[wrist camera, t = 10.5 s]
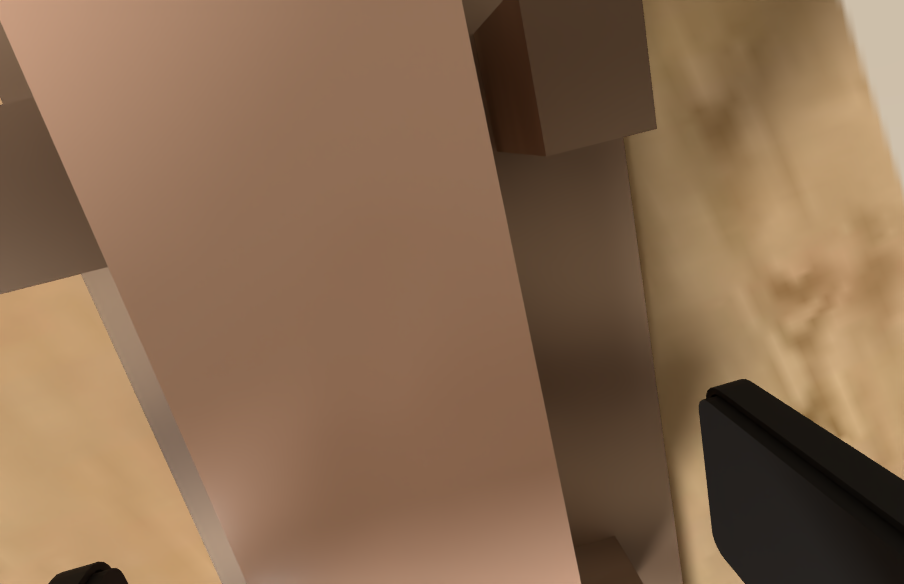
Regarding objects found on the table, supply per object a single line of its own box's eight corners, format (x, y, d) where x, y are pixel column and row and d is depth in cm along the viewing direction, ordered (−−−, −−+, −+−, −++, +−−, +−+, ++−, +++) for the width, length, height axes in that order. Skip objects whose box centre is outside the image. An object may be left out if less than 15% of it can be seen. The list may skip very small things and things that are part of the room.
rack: (679, 655, 18) (820, 897, 12) (325, 767, 17) (299, 1080, 11) (554, -213, 11) (748, -600, 5) (-50, -86, 10) (-596, -374, 4)
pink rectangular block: (563, 691, 14) (664, 990, 9) (428, 734, 13) (457, 1063, 9) (401, -1, 9) (428, -164, 4) (190, 47, 9) (-39, -68, 4)
